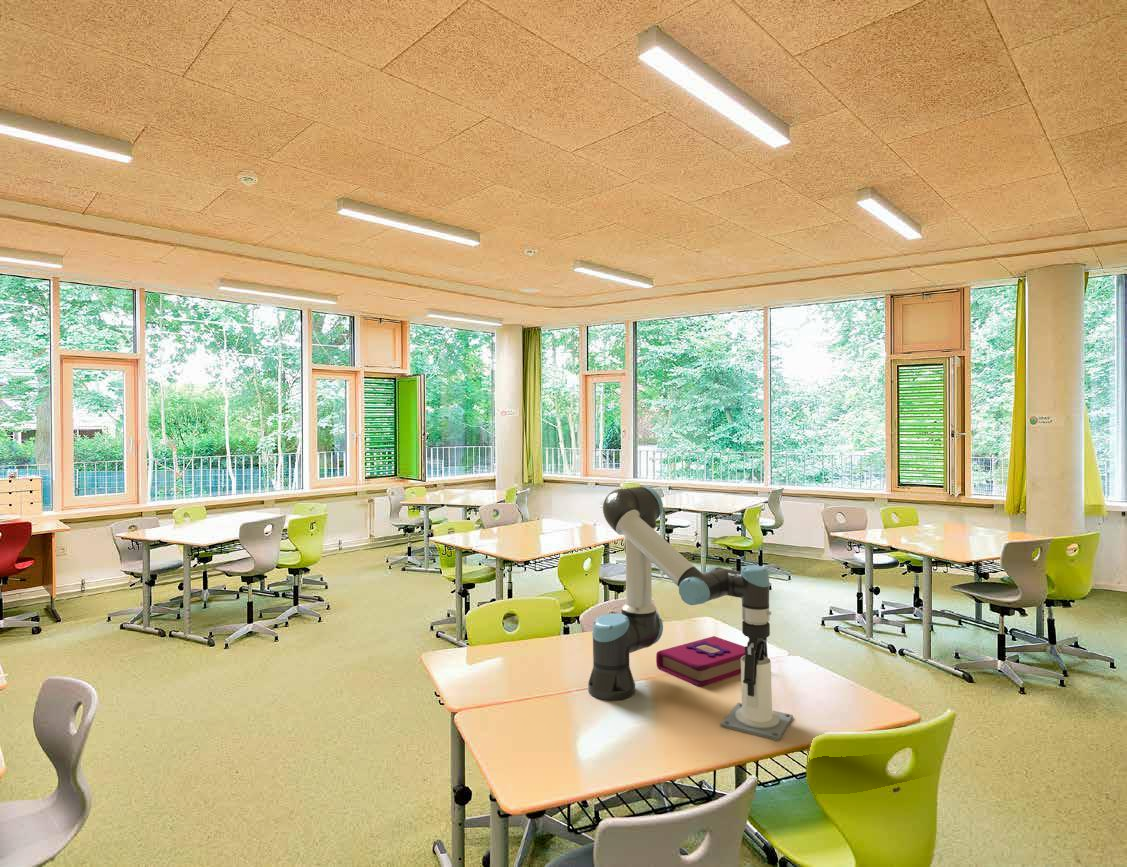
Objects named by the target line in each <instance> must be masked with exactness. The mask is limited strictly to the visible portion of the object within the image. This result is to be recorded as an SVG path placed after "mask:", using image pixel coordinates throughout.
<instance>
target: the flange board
mask: <svg viewBox="0 0 1127 867" xmlns="http://www.w3.org/2000/svg"><path fill="white" fill-rule="evenodd" d="M793 718H794V715H793V714H790V713H786V712H781V711H776V710H773V709H772V719H771V720H769V721H766V722H754V721H750V720H748V719H746V718H744V717H743V715H742V702H741V703H740V702H737V703H736V705H735V706H734V707H733V708H732V709H731V711H730V712H729V713H728V714H727V715H726V717H725V718H724V719H723V720H722V721H721V722H720V727H722V728H725V729H730V730H734V731H738V732H741V733H745V734H750V735H754V736H758V737H762V738H767V739H770V740H775V741H780V740H781V738H782V737H783V735H784V733H785V732H786V730H787V728H788V727H789V725H790V723H791V721H792V720H793Z"/></svg>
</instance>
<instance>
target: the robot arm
mask: <svg viewBox="0 0 1127 867" xmlns="http://www.w3.org/2000/svg"><path fill="white" fill-rule="evenodd" d="M663 510H664V503H663V500H662V497H661V495H660V494H659V493H658V492H657V491H656V490H655V489H654V488H651V487H649V486H636V487H635V486H634V487H628V488H627V487H626V488H617V489H614V490H612V491H611V492H609V493H608V494H607V496H606V497H605V499H604V500H603V504H602V513H603V517H604V519H605V521H606V522H607V524H608V525H609V526H610V528H611V529H612V530H613V531H615V533H616V534H617V535H619V536H624V537H625V602H624V604H623V605H621V613H610V614H609V613H607V614H603V615H600V616H599V617H597V618H596V619H595V620H594V621H593V624H592V626H593V627H592V653H593V654H592V658H593V662H592V663H593V664H592V669H591V674H590V675H589V680H588V684H587V689H588V690H587V692H588V693H589V694H590V695H591V696H592V695H593V696H592V697H594V696H595V698H597V699H600V698H601V700H605V699H606V700H607V701H608V700H609V701H618V700H619V701H620V700H624V699H628V698H630V697H632V696H633V695H634V694H635V693H636V682H635V680H634V679H635V678H634V677H633V673H632V670H631V667H630V654H631V653H634V652H637V651H640V650H642V649H646V648H649V647H651V646H653V645H654V644H656V643H657V642H658V641H659V640H660V639H661V637H662V634H663V631H664V623H663V620H662V618H660V617H661V616H660V614H659V613H658V612H657V607H656V606H655V605H654V604H653V603H652V594H653V593H652V583H653V582H652V576H653V575H652V563H653V564H654V565H655V566H656V567H657V568H658V569H659V570H660V571H662V572H663V573H664V575H665V576H667V577H668V578H669V579H670V580H671V581H672V582H673V583H674V584H675V586H677V587H678V594H679V596H680V598H681V600H682V601H683V602H684V603H685V604H687V605H689V606H697V605H702V604H705V603H706V602H709V601H711V600H716V599H718V598H722V597H724V596H729V597H734V598H739V599H741V619H742V622H741V625H742V629H741V630H742V631H741V632H742V634H743V635H744V636H745V637H747V638H748V641H747V644H746V646H744V647H745V670H744V680H743V683H746V684H747V706H750V707H754V708H757V684H756V676H757V665H758V660H759V661H762V660H764V656H765V657H767V658H769V657H768V645H767V644H768V643H767V642H768V641H767V640H768V637H770V635H771V632H770V631H771V628H770V627H771V626H770V625H771V624H770V616H771V615H772V611H770V585H771V583H770V577H769V576H770V574H769V570H768V569H767V568H766V567H765V566H761V565H752V564H751V565H744V566H743V567H742V568H741V570H734V569H728V568H724V567H720V566H718V567H716V566H711V567H708V568H707V569H706V570H705V571H704V572H701V571H700V570H699V569H698V568H697V567H696V566H695V565H694V564H692V563H691V562H690V561H689V560H688V559H687V558H686V557H685V556H683V555H682V554H681V553H680V552H679V551H678V550H677V549H676V548H675V547H674V546H672V544H670V543H669V542H668V541H667V540H666V539H665V538H664V537H663V536H662V535H661V534H659V533H658V532H657V530H655V529H656V528H657V520H658V519H659V518H660V517H661V515H662V514H663Z"/></svg>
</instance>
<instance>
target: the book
mask: <svg viewBox="0 0 1127 867" xmlns="http://www.w3.org/2000/svg"><path fill="white" fill-rule="evenodd" d="M655 655H656V657H655V658H656V659H655V662H656V667H657V669H658V670H659V671H661V672H664V673H667V674H668V675H671V676H673V677H675V678H678V679H680V680H682V681H684V682H687V683H689V684H691V685H693V686H695V687H698V688H703V687H706V686H709V685H711V684H714V683H717V682H721V681H724V680H726V679H730V678H732V677H735V676H738V675H741V657H742V656H745V646H744V645H741V644H738V643H737V642H734V641H730V640H727V639H724V638H721V637H718V636H716V635H715V636H709V637H706V638H702V639H699V640H696V641H691V642H688V643H684V644H681V645H676V646H673V647H669V648H665V649H662V650H659V651H657V652H656V654H655Z"/></svg>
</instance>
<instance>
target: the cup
mask: <svg viewBox="0 0 1127 867" xmlns="http://www.w3.org/2000/svg"><path fill="white" fill-rule="evenodd" d="M744 670H745V656H742V657H741V674H740V682H741V683H740V686H741V704H742V715H743V717H744V718H746V719H748V720H750V721H754V722H766V721H769V720H771V719H772V710H773V700H772V699H773V695H772V694H773V693H772V662H771V659H770V658H769V657H768V658H767V657H765V656H764V660H762V661H759V660H758V665H757V676H756V684H757V708H754V707H750V706H747V684H746V683H743V680H744Z"/></svg>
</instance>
